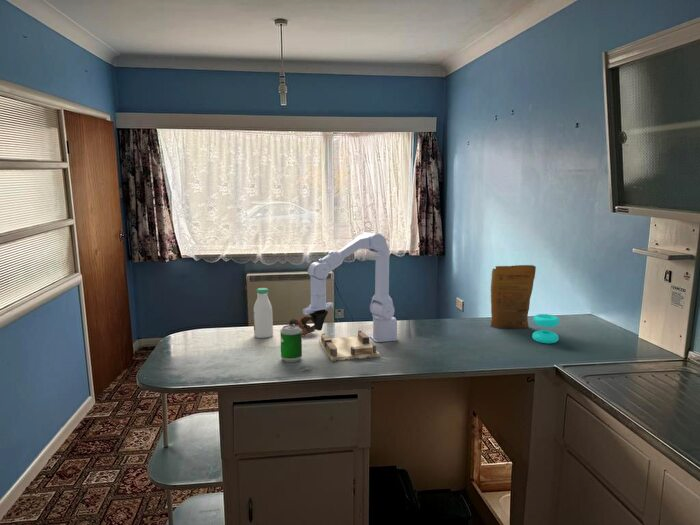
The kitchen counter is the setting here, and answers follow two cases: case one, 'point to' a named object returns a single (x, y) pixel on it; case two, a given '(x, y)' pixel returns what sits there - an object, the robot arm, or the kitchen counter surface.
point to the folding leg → (325, 339)
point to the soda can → (291, 343)
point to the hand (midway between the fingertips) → (318, 329)
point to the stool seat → (350, 347)
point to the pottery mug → (303, 324)
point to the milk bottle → (263, 315)
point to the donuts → (545, 335)
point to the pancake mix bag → (511, 295)
